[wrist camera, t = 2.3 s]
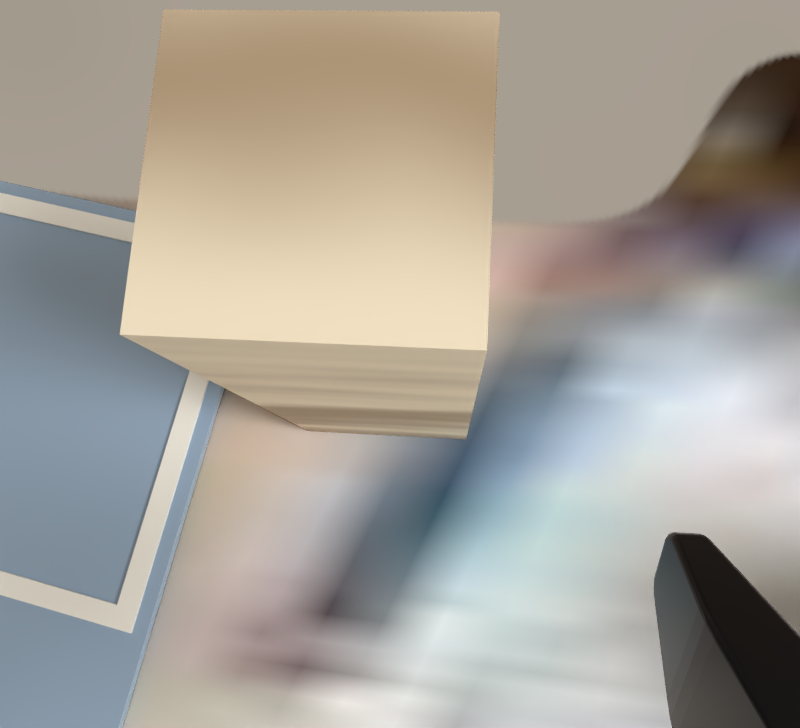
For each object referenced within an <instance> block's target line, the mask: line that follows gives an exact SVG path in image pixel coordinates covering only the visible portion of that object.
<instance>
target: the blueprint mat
mask: <svg viewBox="0 0 800 728" xmlns="http://www.w3.org/2000/svg"><path fill="white" fill-rule="evenodd" d="M135 217H136V211H133V210H128V209H124V208H119V207H115V206H110V205H106V204H101V203H97V202H93V201H88V200H84V199H79V198H75V197H70V196H66V195H61V194H57V193H52V192H48V191H44V190H39V189H35V188H30V187H26V186H21V185H17V184H12V183H8V182H3V181H0V728H122V727H123V724H124V721H125V717H126V714H127V711H128V707H129V704H130V701H131V697H132V694H133V691H134V687H135V684H136V681H137V677H138V674H139V671H140V667H141V664H142V661H143V657H144V654H145V651H146V647H147V644H148V641H149V638H150V634H151V631H152V628H153V624H154V621H155V618H156V614H157V611H158V608H159V604H160V601H161V598H162V594H163V591H164V588H165V584H166V581H167V578H168V574H169V571H170V568H171V564H172V561H173V558H174V554H175V551H176V548H177V544H178V541H179V538H180V534H181V531H182V528H183V524H184V521H185V518H186V514H187V511H188V508H189V504H190V501H191V498H192V494H193V491H194V488H195V485H196V481H197V478H198V475H199V471H200V468H201V465H202V461H203V458H204V455H205V451H206V448H207V445H208V441H209V438H210V435H211V431H212V428H213V425H214V421H215V418H216V415H217V411H218V408H219V405H220V401H221V398H222V395H223V391H224V388H223V387H221V386H219V385H217V384H215V383H213V382H211V381H209V380H207V379H206V378H204V377H202V376H200V375H198V374H196V373H194V372H192V371H190V370H188V369H186V368H184V367H182V366H180V365H178V364H176V363H174V362H172V361H170V360H168V359H166V358H164V357H162V356H160V355H159V354H157V353H155V352H153V351H151V350H149V349H147V348H145V347H143V346H141V345H139V344H137V343H135V342H133V341H131V340H129V339H127V338H125V337H123V336H121V335H120V328H121V321H122V313H123V306H124V298H125V291H126V284H127V276H128V269H129V261H130V254H131V246H132V239H133V232H134V224H135Z"/></svg>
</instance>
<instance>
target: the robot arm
mask: <svg viewBox="0 0 800 728" xmlns="http://www.w3.org/2000/svg"><path fill="white" fill-rule="evenodd" d="M654 599H655V607H656V614H657V622H658V630H659V638H660V646H661V653H662V661H663V669H664V677H665V685H666V693H667V700H668V707H669V714H670V720H671V725H672V728H800V636H799V634H798V633H797V632H796V631H795V630H794V629H793V628H792V627H791V626H790V625H789V624H788V623H787V622H786V621H785V619H784V618H783V617H782V616H781V615H780V614H779V613H778V612H777V611H776V610H775V609H774V608H773V607H772V606H771V605H770V603H769V602H768V601H767V600H766V599H765V598H764V597H763V596H762V595H761V594H760V593H759V592H758V591H757V590H756V588H755V587H754V586H753V585H752V584H751V583H750V582H749V581H748V580H747V579H746V578H745V577H744V576H743V575H742V573H741V572H740V571H739V570H738V569H737V568H736V567H735V566H734V565H733V564H732V563H731V562H730V561H729V560H728V559H727V557H726V556H725V555H724V554H723V553H722V552H721V551H720V550H719V549H718V548H717V547H716V546H715V545H714V544H713V542H712V541H711V540H710V539H709V538H707V537H706V536H704V535H702V534H694V533H676V532H674V533H671V534H669V535H668V536H667V538H666V540H665V543H664V546H663V550H662V553H661V557H660V560H659V564H658V567H657V570H656V574H655V579H654Z"/></svg>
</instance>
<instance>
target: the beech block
mask: <svg viewBox="0 0 800 728" xmlns="http://www.w3.org/2000/svg"><path fill="white" fill-rule="evenodd" d="M499 14H500V12H449V11H447V12H446V11H443V12H442V11H441V12H440V11H298V10H294V11H293V10H289V11H288V10H287V11H286V10H163V16H162V24H161V31H160V40H159V46H158V53H157V62H156V68H155V76H154V83H153V91H152V98H151V105H150V113H149V121H148V128H147V136H146V143H145V150H144V157H143V165H142V172H141V180H140V188H139V195H138V202H137V209H136V217H135V224H134V232H133V239H132V246H131V254H130V261H129V269H128V276H127V284H126V291H125V298H124V306H123V313H122V321H121V328H120V335H121V336H123V337H125V338H127V339H129V340H131V341H133V342H135V343H137V344H139V345H141V346H143V347H145V348H147V349H149V350H151V351H153V352H155V353H157V354H159V355H160V356H162V357H164V358H166V359H168V360H170V361H172V362H174V363H176V364H178V365H180V366H182V367H184V368H186V369H188V370H190V371H192V372H194V373H196V374H198V375H200V376H202V377H204V378H206V379H207V380H209V381H211V382H213V383H215V384H217V385H219V386H221V387H223V388H225V389H227V390H229V391H231V392H233V393H235V394H237V395H239V396H241V397H243V398H245V399H247V400H249V401H251V402H252V403H254V404H256V405H258V406H260V407H262V408H264V409H266V410H268V411H270V412H272V413H274V414H276V415H278V416H280V417H282V418H284V419H286V420H288V421H290V422H292V423H294V424H296V425H298V426H299V427H301V428H303V429H305V430H307V431H320V432H338V433H357V434H376V435H395V436H414V437H432V438H451V439H466V437H467V433H468V428H469V424H470V420H471V416H472V411H473V407H474V403H475V399H476V395H477V390H478V386H479V382H480V378H481V373H482V369H483V365H484V361H485V356H486V352H487V335H488V308H489V281H490V255H491V228H492V200H493V175H494V148H495V120H496V95H497V94H496V92H497V67H498V42H499Z"/></svg>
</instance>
